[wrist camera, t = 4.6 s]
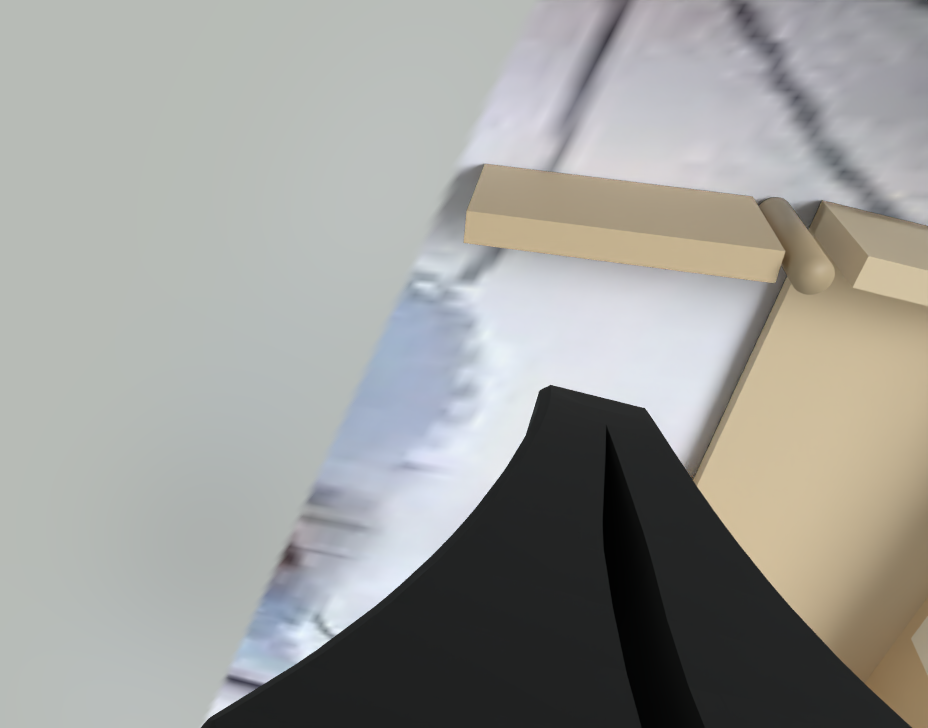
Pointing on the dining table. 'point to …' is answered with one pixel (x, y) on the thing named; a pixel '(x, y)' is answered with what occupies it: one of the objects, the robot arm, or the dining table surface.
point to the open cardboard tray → (841, 453)
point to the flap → (645, 226)
